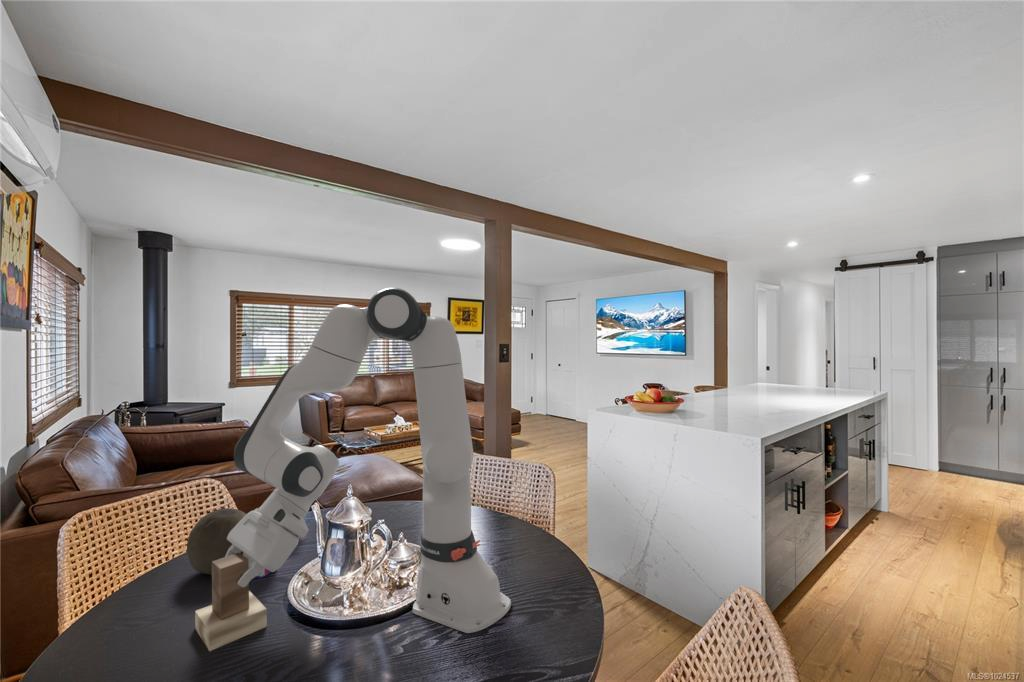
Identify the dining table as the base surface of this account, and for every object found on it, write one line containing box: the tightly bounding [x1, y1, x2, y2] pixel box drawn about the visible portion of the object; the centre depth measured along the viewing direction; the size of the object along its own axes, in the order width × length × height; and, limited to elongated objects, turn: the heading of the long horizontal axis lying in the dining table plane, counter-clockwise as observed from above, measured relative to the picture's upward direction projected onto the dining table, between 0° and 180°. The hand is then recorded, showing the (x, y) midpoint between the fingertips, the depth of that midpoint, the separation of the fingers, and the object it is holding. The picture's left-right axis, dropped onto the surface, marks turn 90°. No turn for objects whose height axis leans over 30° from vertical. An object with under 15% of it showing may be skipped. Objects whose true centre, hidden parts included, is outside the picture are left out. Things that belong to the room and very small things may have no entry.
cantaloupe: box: [186, 507, 247, 576], centre depth 115 cm, size 14×14×15 cm
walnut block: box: [211, 553, 250, 620], centre depth 92 cm, size 5×5×10 cm
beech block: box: [194, 590, 268, 652], centre depth 92 cm, size 10×10×4 cm
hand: (230, 577), depth 92 cm, fingers open, 8 cm apart
